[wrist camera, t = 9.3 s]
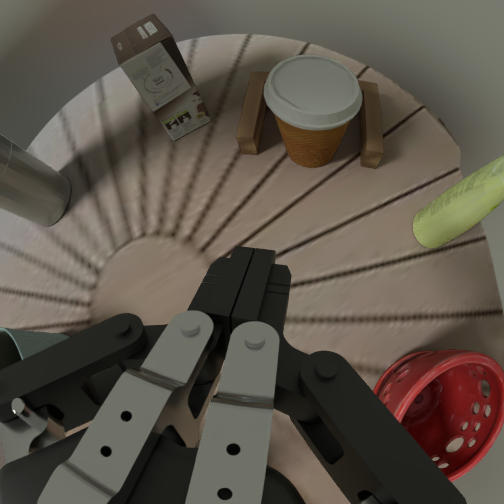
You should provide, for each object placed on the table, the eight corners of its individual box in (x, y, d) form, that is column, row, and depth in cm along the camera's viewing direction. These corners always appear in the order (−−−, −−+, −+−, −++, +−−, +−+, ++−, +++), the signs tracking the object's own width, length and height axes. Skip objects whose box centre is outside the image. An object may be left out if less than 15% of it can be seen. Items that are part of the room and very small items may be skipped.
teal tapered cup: (46, 322, 35) (-12, 319, 23) (90, 337, 33) (25, 339, 22) (46, 381, 33) (-9, 390, 22) (89, 403, 32) (31, 422, 20)
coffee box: (213, 120, 37) (173, 34, 21) (173, 142, 37) (117, 66, 22) (191, 86, 39) (154, 11, 24) (156, 106, 39) (108, 37, 24)
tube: (444, 258, 29) (556, 204, 10) (409, 249, 30) (513, 181, 11) (446, 214, 30) (541, 136, 11) (412, 205, 31) (497, 110, 12)
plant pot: (460, 338, 26) (521, 345, 15) (441, 436, 24) (487, 473, 12) (365, 341, 29) (403, 357, 17) (348, 446, 26) (368, 502, 14)
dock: (242, 153, 35) (236, 136, 31) (255, 90, 37) (251, 71, 33) (375, 168, 32) (383, 152, 28) (372, 101, 34) (377, 83, 30)
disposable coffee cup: (264, 127, 35) (251, 62, 24) (331, 112, 35) (339, 47, 23) (285, 188, 33) (278, 130, 22) (359, 170, 32) (382, 110, 21)
